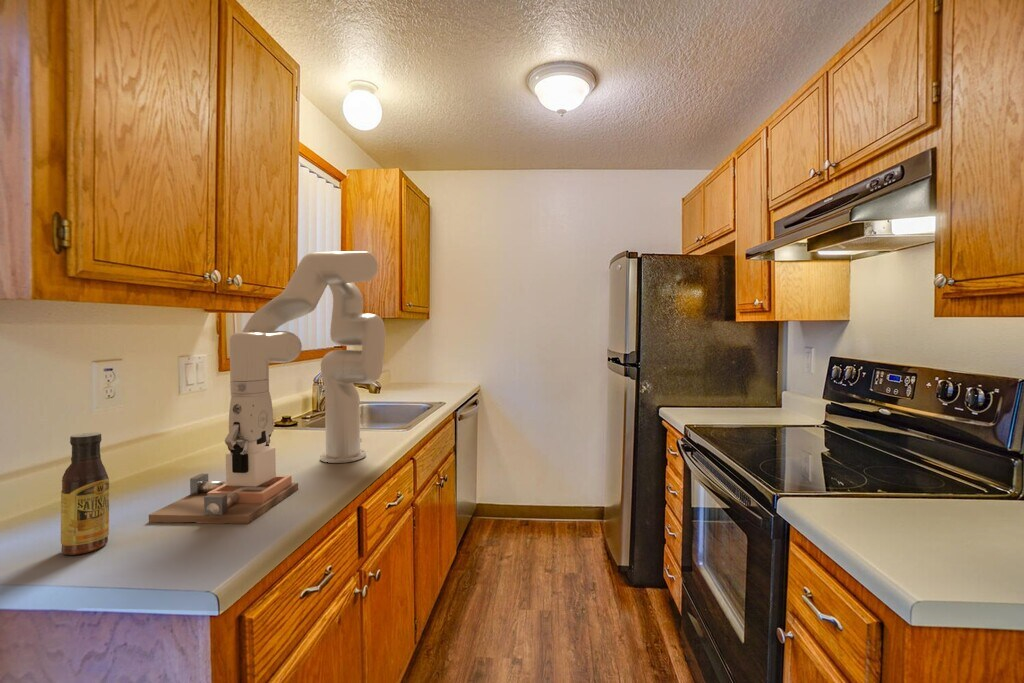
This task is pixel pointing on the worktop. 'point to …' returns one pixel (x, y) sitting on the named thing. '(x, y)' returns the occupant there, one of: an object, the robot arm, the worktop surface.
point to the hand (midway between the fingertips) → (251, 466)
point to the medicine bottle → (253, 465)
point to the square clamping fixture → (225, 501)
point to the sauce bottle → (84, 497)
